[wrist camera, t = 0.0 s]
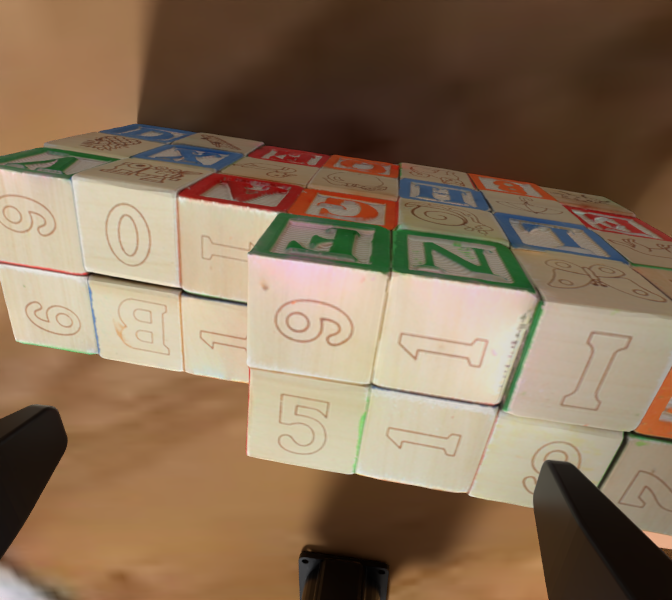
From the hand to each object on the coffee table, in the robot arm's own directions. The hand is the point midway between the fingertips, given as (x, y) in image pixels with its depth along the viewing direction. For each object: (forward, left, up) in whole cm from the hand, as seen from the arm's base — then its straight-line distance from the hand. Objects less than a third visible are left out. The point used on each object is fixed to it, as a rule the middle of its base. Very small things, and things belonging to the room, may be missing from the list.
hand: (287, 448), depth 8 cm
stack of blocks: (0, 0, -15) cm, 15 cm away
